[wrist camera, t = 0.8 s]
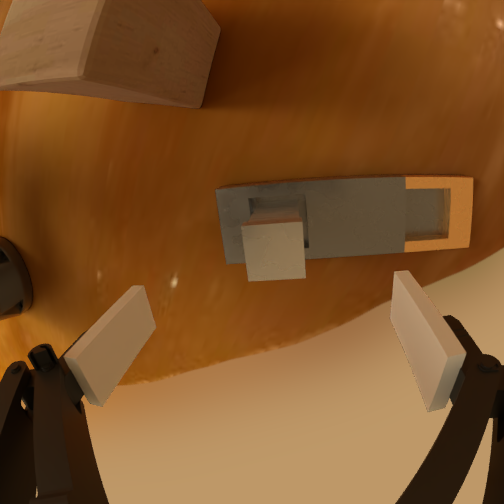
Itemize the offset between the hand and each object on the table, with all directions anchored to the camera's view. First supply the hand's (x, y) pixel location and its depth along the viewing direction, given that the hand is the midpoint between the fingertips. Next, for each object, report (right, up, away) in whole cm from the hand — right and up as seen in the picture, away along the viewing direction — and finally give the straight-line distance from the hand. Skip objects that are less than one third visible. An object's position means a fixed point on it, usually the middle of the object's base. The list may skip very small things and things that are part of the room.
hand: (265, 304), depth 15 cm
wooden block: (-10, +23, +13) cm, 28 cm away
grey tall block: (+2, +6, +16) cm, 18 cm away
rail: (+10, +7, +16) cm, 20 cm away
